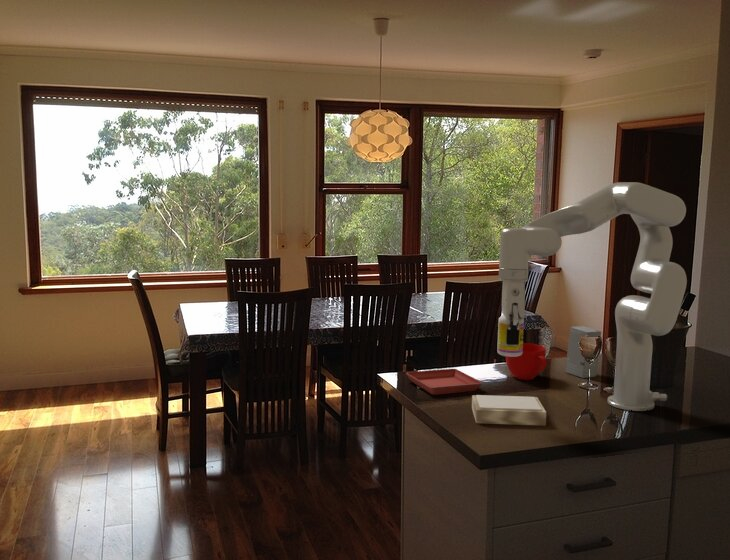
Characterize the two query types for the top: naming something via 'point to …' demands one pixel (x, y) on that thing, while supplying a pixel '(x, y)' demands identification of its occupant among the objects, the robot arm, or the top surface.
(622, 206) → the robot arm
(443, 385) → the plant saucer
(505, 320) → the supplement bottle
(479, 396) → the birch base
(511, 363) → the ceramic cup
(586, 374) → the skincare box
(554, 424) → the top surface
